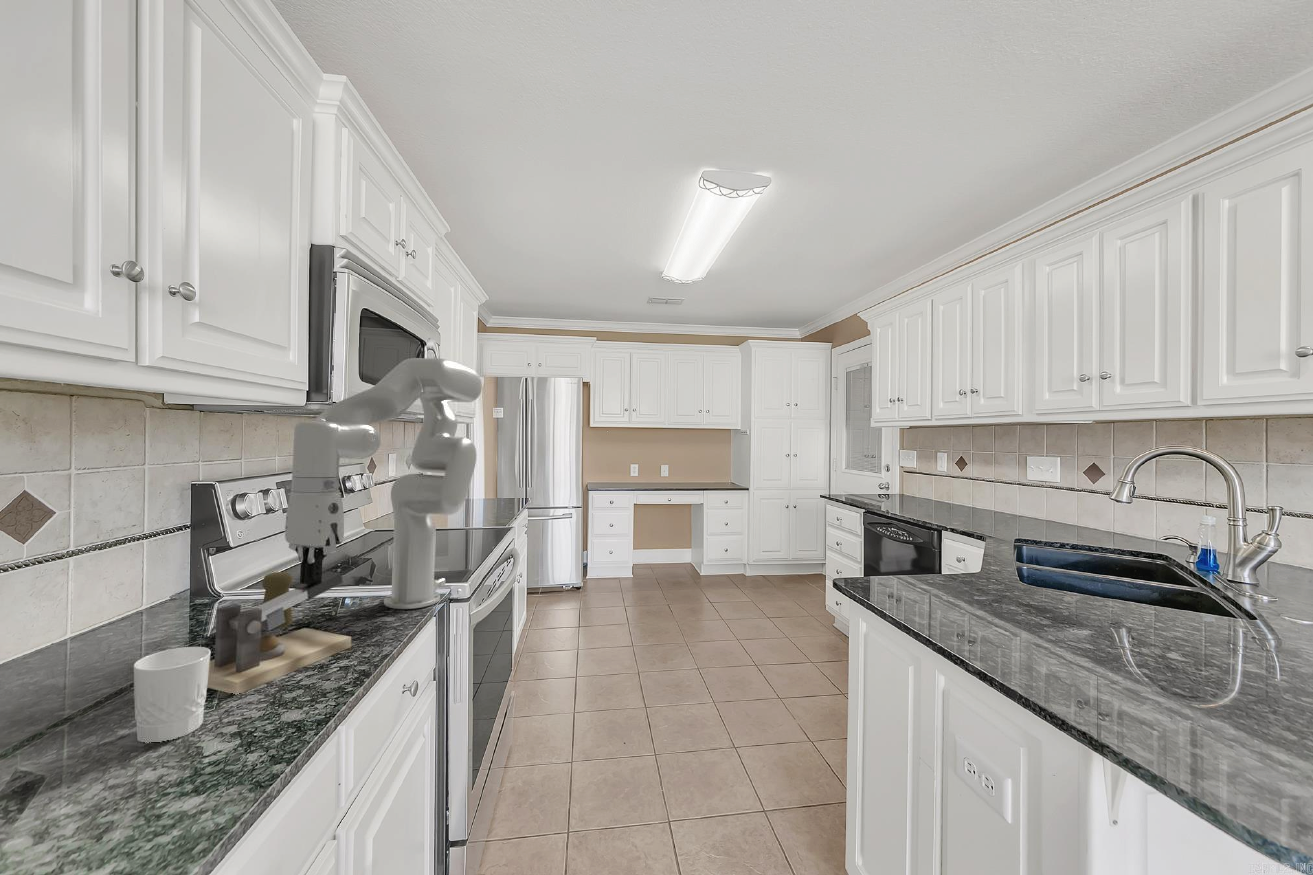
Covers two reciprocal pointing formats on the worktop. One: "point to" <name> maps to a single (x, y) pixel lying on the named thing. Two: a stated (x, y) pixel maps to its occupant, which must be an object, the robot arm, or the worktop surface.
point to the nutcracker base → (263, 651)
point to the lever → (291, 600)
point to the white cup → (170, 693)
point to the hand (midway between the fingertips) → (310, 582)
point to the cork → (278, 591)
